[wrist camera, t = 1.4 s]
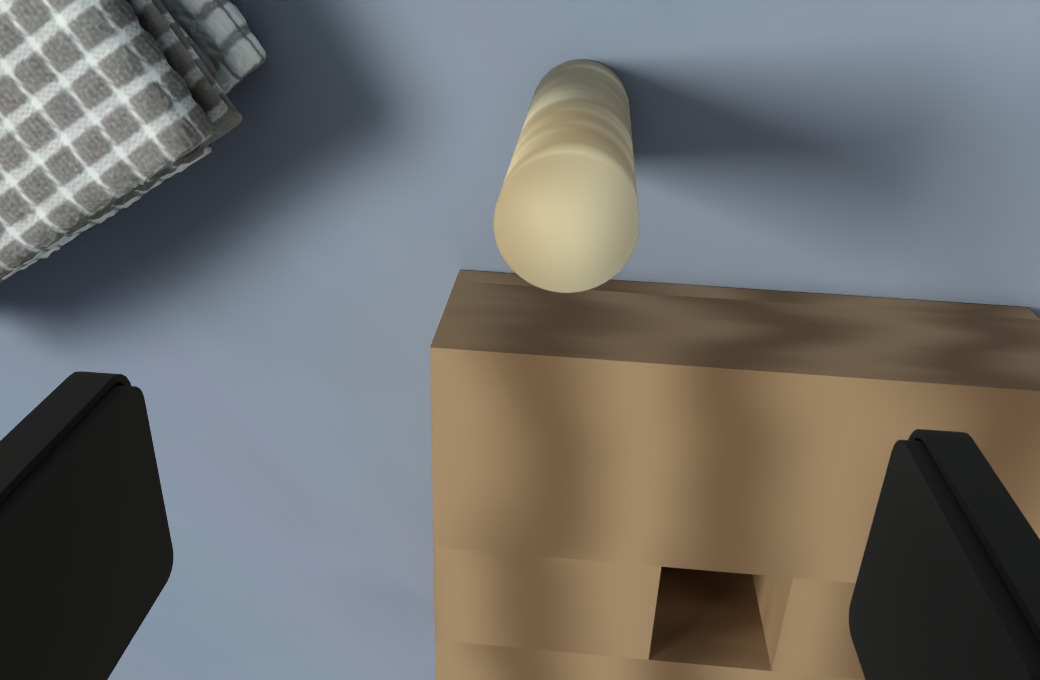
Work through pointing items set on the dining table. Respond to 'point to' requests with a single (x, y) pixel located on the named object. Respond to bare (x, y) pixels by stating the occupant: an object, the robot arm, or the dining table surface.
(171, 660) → the dining table surface
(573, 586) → the bore block
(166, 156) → the towel
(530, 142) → the peg
